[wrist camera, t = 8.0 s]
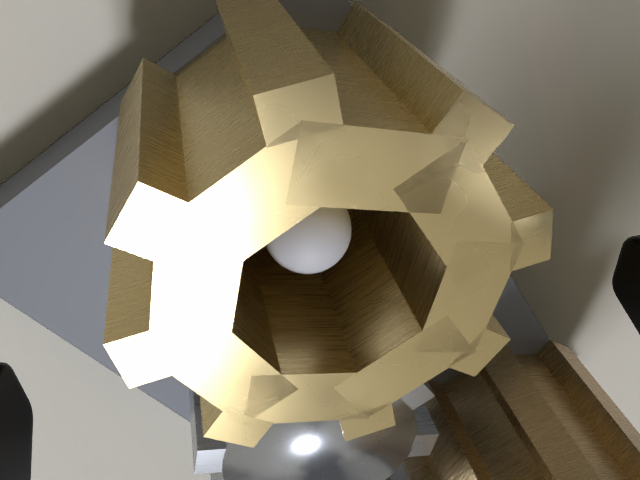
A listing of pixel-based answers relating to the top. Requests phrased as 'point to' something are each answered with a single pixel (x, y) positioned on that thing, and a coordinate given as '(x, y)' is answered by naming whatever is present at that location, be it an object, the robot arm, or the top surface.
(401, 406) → the sun gear
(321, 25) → the plate
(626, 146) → the top surface
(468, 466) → the seated gear
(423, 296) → the planet gear
